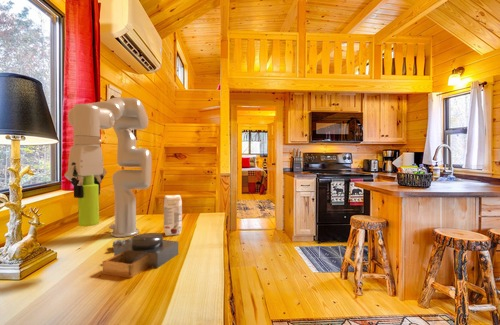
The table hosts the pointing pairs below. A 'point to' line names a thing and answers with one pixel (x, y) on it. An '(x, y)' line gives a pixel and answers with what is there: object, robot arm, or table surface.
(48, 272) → the table surface
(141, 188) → the robot arm
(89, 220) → the soap dispenser
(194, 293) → the table surface
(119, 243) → the egg carton
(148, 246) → the grey block with dome
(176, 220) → the juice carton
